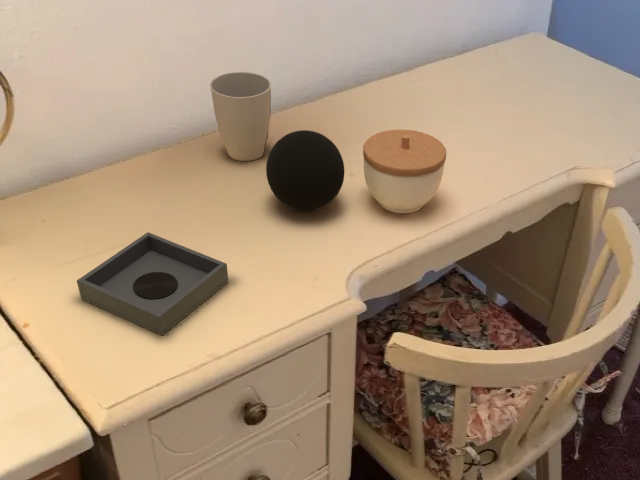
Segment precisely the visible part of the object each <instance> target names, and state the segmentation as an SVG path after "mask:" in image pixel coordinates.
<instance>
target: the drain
mask: <svg viewBox="0 0 640 480" xmlns="http://www.w3.org/2000/svg"><path fill="white" fill-rule="evenodd" d="M177 287H178V282H177V279H176V278H175V277H174V276H172V275H171V274H168V273H164V272H152V273H147V274H144V275H142V276H140V277H139V278H137V279H136V280H135V282H134V284H133V291H134V292H135V294H136V295H138V296H139V297H141V298H144V299H161V298H165V297H168V296H170V295H171V294H173V293H174V292H175V291H176V289H177Z"/></svg>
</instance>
